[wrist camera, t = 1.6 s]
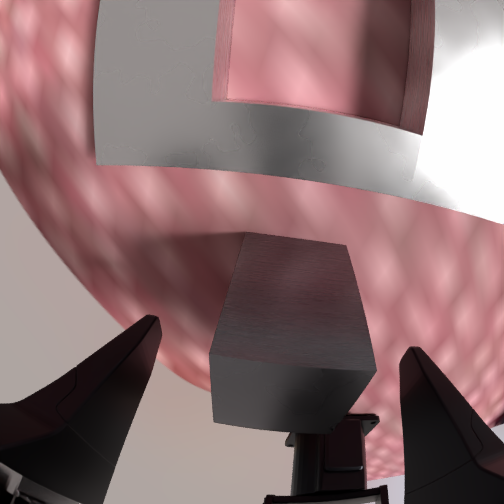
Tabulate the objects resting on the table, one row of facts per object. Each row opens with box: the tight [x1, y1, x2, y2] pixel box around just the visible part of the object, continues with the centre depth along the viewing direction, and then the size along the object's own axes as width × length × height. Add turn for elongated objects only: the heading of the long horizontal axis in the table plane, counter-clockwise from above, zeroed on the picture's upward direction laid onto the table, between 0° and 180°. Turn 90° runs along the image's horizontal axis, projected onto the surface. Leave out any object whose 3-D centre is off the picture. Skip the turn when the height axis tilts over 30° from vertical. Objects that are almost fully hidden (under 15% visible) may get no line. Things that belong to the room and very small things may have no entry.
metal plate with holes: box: [93, 0, 504, 225], centre depth 6 cm, size 10×24×2 cm, turn 86°
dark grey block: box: [209, 232, 377, 434], centre depth 10 cm, size 4×4×6 cm
